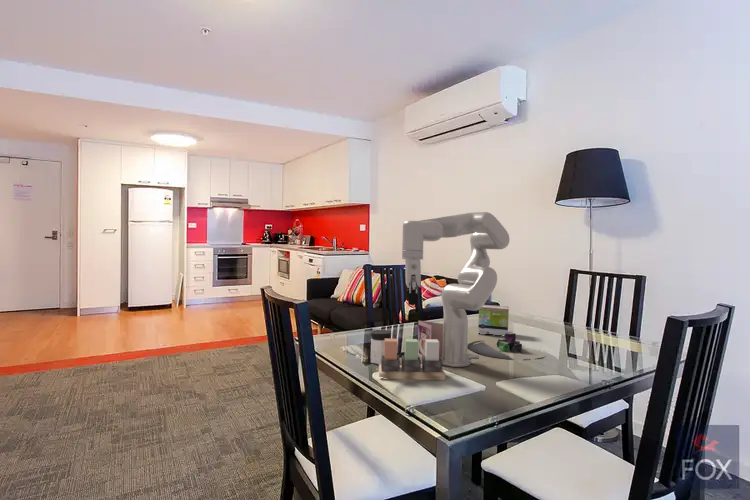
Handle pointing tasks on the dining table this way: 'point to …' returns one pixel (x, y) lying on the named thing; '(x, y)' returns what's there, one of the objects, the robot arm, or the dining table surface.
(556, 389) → the dining table surface
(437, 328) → the greeting card
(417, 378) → the base
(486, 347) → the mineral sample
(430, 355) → the grey button
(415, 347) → the pale green upright block
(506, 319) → the tea box
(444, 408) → the dining table surface
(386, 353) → the pink upright block
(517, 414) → the dining table surface
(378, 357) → the jar
